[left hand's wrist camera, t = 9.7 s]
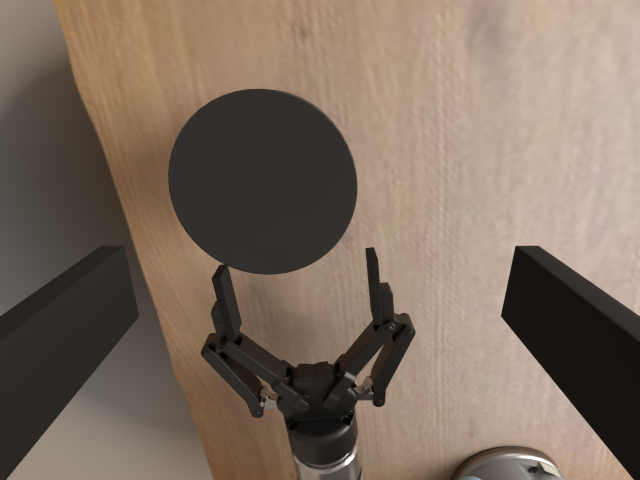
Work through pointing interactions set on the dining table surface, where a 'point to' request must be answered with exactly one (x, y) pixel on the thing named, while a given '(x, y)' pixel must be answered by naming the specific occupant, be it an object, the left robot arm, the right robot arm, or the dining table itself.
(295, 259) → the lid
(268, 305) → the dining table surface
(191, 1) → the dining table surface
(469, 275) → the dining table surface
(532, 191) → the dining table surface
